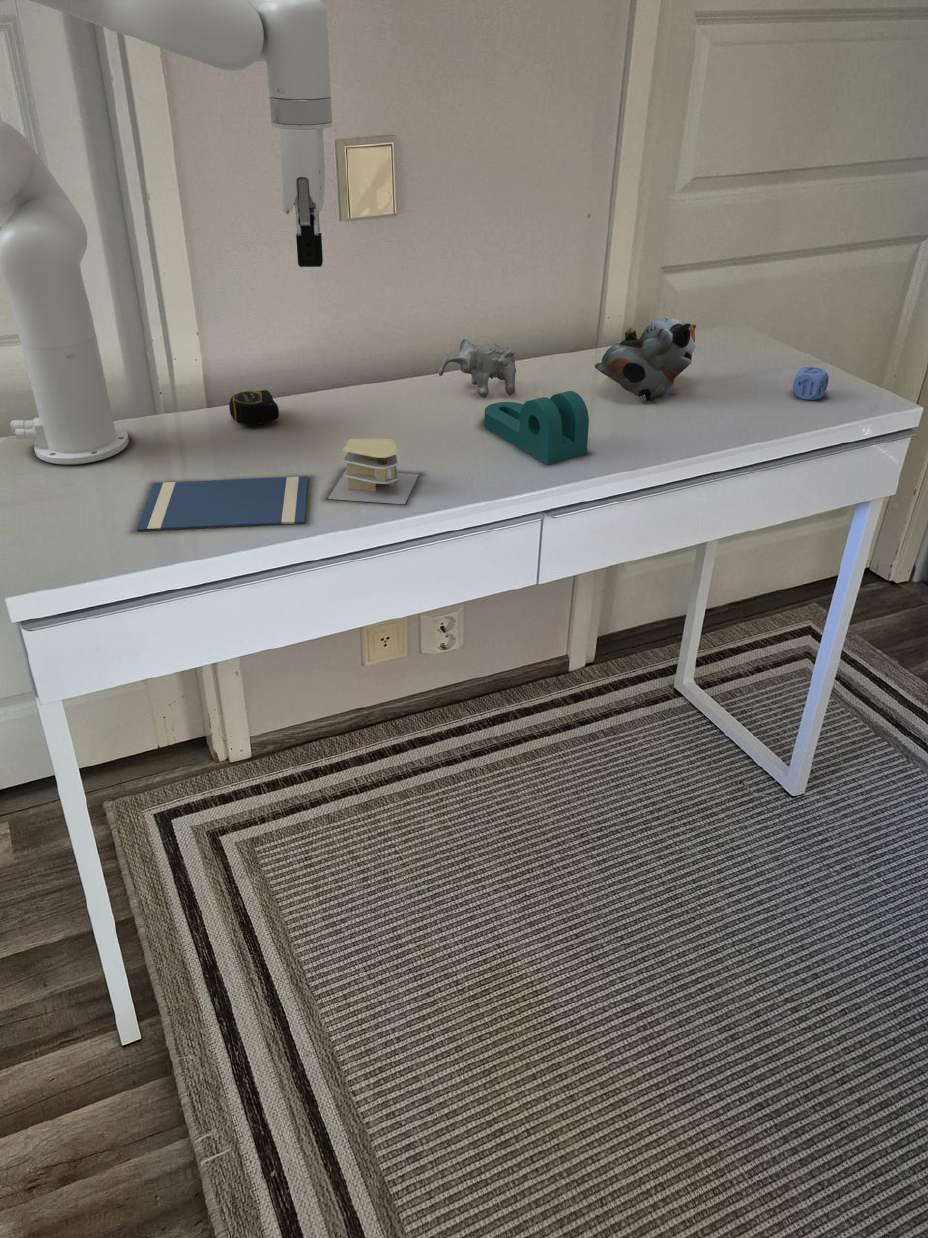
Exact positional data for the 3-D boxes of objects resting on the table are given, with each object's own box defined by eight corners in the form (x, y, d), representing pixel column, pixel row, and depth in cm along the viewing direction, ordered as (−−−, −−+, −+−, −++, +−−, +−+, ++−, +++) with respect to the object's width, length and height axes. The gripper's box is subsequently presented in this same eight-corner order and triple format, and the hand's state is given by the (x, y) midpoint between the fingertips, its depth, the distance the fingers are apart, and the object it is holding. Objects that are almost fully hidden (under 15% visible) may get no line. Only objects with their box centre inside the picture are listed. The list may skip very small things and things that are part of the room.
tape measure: (281, 426, 151) (278, 402, 149) (234, 431, 149) (231, 407, 147) (274, 410, 156) (271, 386, 154) (228, 415, 155) (225, 391, 153)
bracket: (586, 453, 142) (590, 399, 138) (547, 464, 139) (549, 409, 135) (513, 412, 155) (514, 362, 151) (475, 422, 152) (475, 370, 148)
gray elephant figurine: (527, 394, 162) (528, 346, 158) (461, 408, 157) (461, 359, 153) (496, 376, 168) (497, 330, 164) (432, 390, 163) (431, 342, 159)
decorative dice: (790, 396, 160) (795, 371, 158) (802, 389, 163) (806, 364, 161) (815, 402, 158) (819, 377, 156) (826, 395, 161) (830, 370, 159)
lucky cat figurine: (613, 368, 171) (660, 293, 165) (670, 409, 168) (721, 335, 162) (580, 369, 158) (631, 287, 152) (642, 413, 155) (696, 332, 149)
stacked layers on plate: (327, 499, 131) (324, 459, 128) (345, 469, 138) (342, 431, 135) (404, 504, 129) (403, 464, 126) (418, 474, 137) (417, 435, 134)
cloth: (137, 531, 123) (136, 528, 123) (154, 484, 134) (153, 482, 134) (304, 523, 125) (304, 521, 125) (308, 478, 136) (308, 475, 136)
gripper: (275, 105, 133) (286, 251, 143) (264, 120, 121) (277, 279, 131) (334, 106, 134) (340, 252, 144) (329, 121, 121) (336, 279, 131)
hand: (310, 264), depth 137 cm, fingers closed
